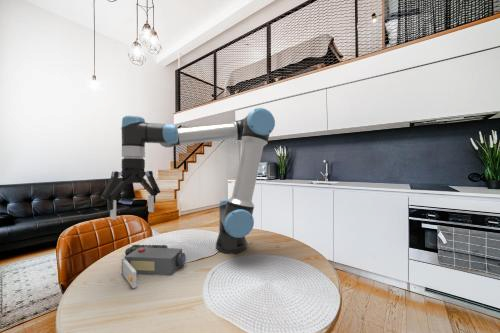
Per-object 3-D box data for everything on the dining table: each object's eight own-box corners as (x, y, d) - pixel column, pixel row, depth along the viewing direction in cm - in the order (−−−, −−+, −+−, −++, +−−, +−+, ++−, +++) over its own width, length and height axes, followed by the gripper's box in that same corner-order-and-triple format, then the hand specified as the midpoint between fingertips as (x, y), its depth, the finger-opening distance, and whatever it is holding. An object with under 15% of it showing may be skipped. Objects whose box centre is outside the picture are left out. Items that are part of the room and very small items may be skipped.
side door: (137, 287, 65) (137, 270, 65) (130, 289, 64) (130, 272, 64) (125, 272, 74) (125, 257, 74) (119, 274, 73) (120, 259, 73)
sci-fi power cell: (162, 253, 83) (172, 243, 93) (117, 252, 84) (132, 243, 94) (162, 263, 83) (172, 253, 93) (117, 262, 84) (132, 252, 94)
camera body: (187, 263, 82) (187, 246, 82) (177, 275, 73) (177, 256, 73) (139, 261, 83) (139, 245, 83) (124, 273, 74) (124, 254, 74)
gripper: (158, 159, 88) (158, 208, 88) (89, 157, 67) (88, 221, 67) (169, 159, 84) (169, 210, 84) (98, 156, 63) (98, 224, 63)
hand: (133, 215), depth 76 cm, fingers open, 13 cm apart
